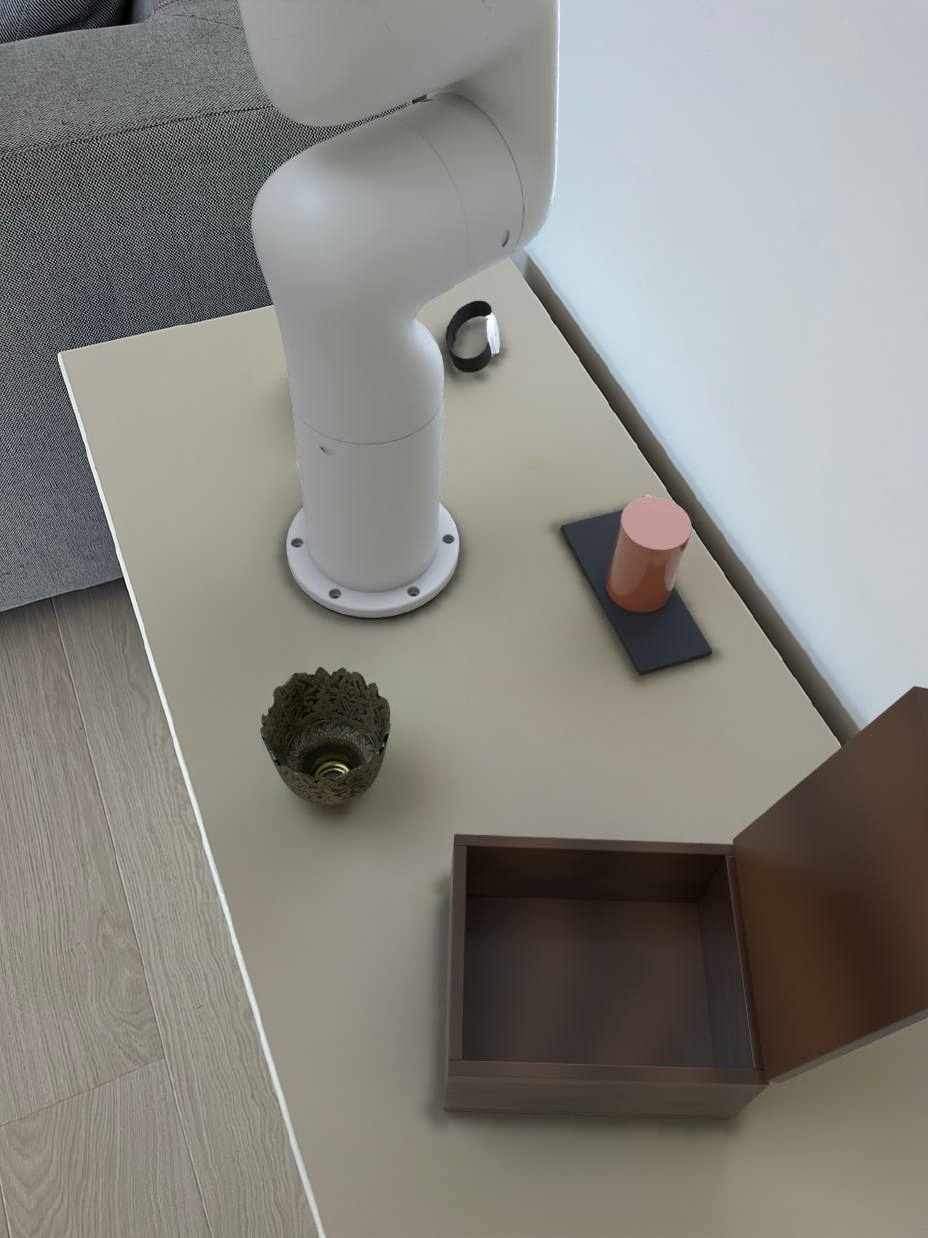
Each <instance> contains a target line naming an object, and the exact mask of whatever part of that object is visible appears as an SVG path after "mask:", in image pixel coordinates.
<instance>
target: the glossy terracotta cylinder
mask: <svg viewBox="0 0 928 1238" xmlns="http://www.w3.org/2000/svg"><path fill="white" fill-rule="evenodd" d="M622 510H623V512H622V515H621V518H620V523H619V527H618V531H617V535H616V539H615V543H614V547H613V551H612V556H611V560H610V564H609V568H608V572H607V576H606V581H605V585H606V590H607V592H608V594H609V596H610V597H611V599H612V600H613V601H614V602H615V603H616V604H618V605H619V606H620V607H622V608H624V609H626V610H629V611H633V612H639V613H646V612H652V611H655V610H658V609H659V608H661V607H662V606H664V605H665V604H666V603H667V601H668V600H669V598H670V595H671V592H672V589H673V586H674V587H675V584H676V583H675V582H676V580H677V577H678V574H679V571H680V568H681V565H682V562H683V559H684V556H685V552H686V549H687V547H688V544H689V540H690V537H691V534H692V528H693V527H692V526H693V525H692V521H691V518H690V516H689V515H688V513H687V512H686V510H685V509H684V508H682V506H680V505H679V504H677V503H676V502H674V501H672V500H669V499H667V498H663V497H659V496H654V495H650V494H644V495H643V496H641V497H639V498H636V499H634V500H632V501H631V502H629V503H628V504H627V505H626V506H625V507H624V508H623V509H622Z"/></svg>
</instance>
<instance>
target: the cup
mask: <svg viewBox="0 0 928 1238" xmlns="http://www.w3.org/2000/svg"><path fill="white" fill-rule="evenodd" d="M272 697H273V703H272V704H271V706H269V707H268V709H267V714H266V715H265V714H264V713H261V719H260V720H261V723H262V725H261V727H259V731H260V732H259V733H260V736H261V740H262V742H263V744H264V745H265V747H266V750H267V752H268V754H269V757H270V759H271V761H272V763H273V765H274V767H275V769H276V771H277V773H278V775H279V776H280V778H281V780H282V782H283V783H284V785H286V787H287V788H288V789H289V790H290V791H291V792H292V793H293V794H294V795H295V796H297V797H298V798H300V799H301V800H304V801H305V802H308V803H311V804H314V805H317V806H324V807H325V806H326V807H331V806H333V807H334V806H339V805H340V806H341V805H344V804H347V803H351V802H352V801H353V800H355V799H357V798H359V797H360V796H362V795H363V794H365V793H366V791H368V789H369V788H371V786H372V785H373V784H374V782H375V781H376V779H377V777H378V776H379V773H380V771H381V769H382V766H383V763H384V759H385V755H386V752H387V751H386V750H387V746H388V740H389V735H390V732H391V726H392V725H391V724H392V723H391V706H390V703H389V700H388V699H387V698H385V697H384V696H382V695H380V693H379V687H378V685H377V684H376V682H375V681H373V682H370V683H368V685H367V681H366V680H365V677H364V676H363V674H361V673H360V672H359V671H351V672H350V671H348V670H347V668H346V667H344V666H343V667H340V668H338V669H337V670H336V671H332V673H331V674H330V672H328V670H327V669H325V668H324V667H322V666H318V668H317V669H316V671H315V672H314V673H311V674H309V673H308V672H306V671H305V672H294V673H293V674H291V675H290V676H289V678H288V679H287V680H286V681H285V682H284V684H283V685H278V686H276V687H275V688H274V689H273V692H272ZM331 772H336V773H339V775H338V776H336V777H332V776H325V775H327V774H328V773H331Z"/></svg>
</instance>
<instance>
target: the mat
mask: <svg viewBox="0 0 928 1238" xmlns="http://www.w3.org/2000/svg"><path fill="white" fill-rule="evenodd" d="M623 510H624V509H620V510H616V511H613V512H609V513H605V514H601V515H597V516H593V517H589V518H585V519H581V520H577V521H573V522H569V523H565V524H561V526H560V530H561V532H562V534H563V535H564V537H565V540H566V541H567V543H568V545H569V547H570V549H571V551H572V553H573V555H574V556H575V558H576V560H577V562H578V563H579V566H580V568H581V570H582V571H583V573H584V575H585V576H586V578H587V580H588V582H589V584H590V586H591V587H592V590H593V591H594V593H595V595H596V597H597V599H598V600H599V603H600V605H601V606H602V608H603V610H604V612H605V614H606V616H607V617H608V619H609V621H610V623H611V625H612V627H613V629H614V631H615V632H616V635H617V636H618V638H619V640H620V642H621V643H622V645H623V647H624V649H625V651H626V653H627V655H628V657H629V658H630V660H631V662H632V664H633V666H634V668H635V669H636V671H637V673H638V675H639V676H641V675H646V674H649V673H652V672H656V671H659V670H662V669H666V668H668V667H672V666H676V665H679V664H683V663H686V662H690V661H693V660H697V659H700V658H704V657H707V656H710V655H712V653H713V649H712V648H711V647H710V644H709V643H708V641H707V640H706V638H705V636H704V634H703V633H702V631H701V629H700V628H699V627H698V624H697V623H696V621H695V619H694V618H693V616H692V615H691V613H690V611H689V609H688V608H687V606H686V604H685V602H684V600H683V599H682V597H681V596H680V594H679V592H678V591H677V589H676V587H675V585H674V586H673V589H672V592H671V595H670V598H669V600H668V601H667V603H666V604H665V605H664V606H662V607H661V608H659V609H658V610H655V611H652V612H646V613H639V612H633V611H629V610H626V609H624V608H622V607H620V606H619V605H618V604H616V603H615V602H614V601H613V600H612V599H611V597H610V596H609V594H608V592H607V590H606V585H605V581H606V576H607V572H608V568H609V564H610V560H611V556H612V551H613V547H614V543H615V539H616V535H617V531H618V527H619V523H620V518H621V515H622V512H623Z"/></svg>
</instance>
